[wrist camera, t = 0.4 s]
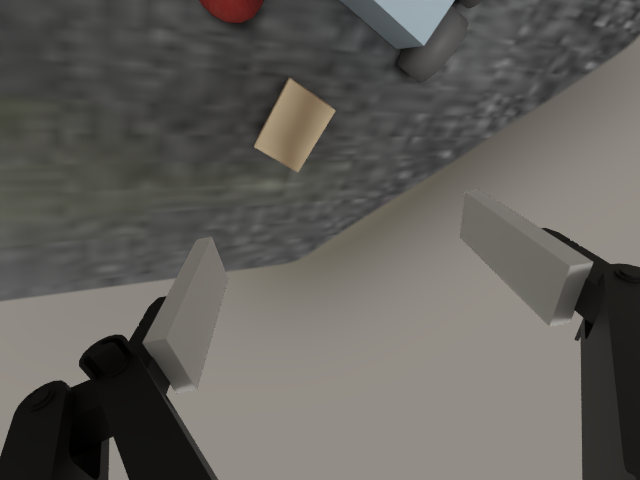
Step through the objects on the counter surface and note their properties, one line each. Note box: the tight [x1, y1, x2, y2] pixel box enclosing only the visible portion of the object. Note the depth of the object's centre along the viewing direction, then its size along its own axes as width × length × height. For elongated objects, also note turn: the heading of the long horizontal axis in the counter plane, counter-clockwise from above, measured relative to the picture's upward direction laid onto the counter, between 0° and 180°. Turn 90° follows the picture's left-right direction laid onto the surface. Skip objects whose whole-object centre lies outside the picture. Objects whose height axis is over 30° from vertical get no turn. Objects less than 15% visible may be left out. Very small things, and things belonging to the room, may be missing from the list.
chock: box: [254, 77, 336, 172], centre depth 31 cm, size 5×7×5 cm
